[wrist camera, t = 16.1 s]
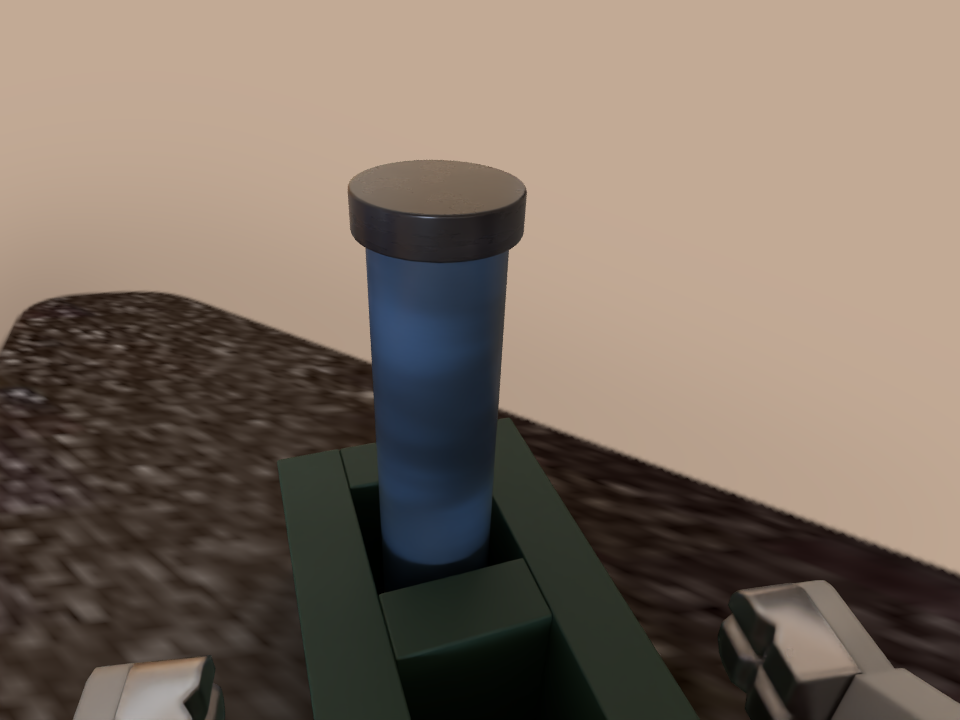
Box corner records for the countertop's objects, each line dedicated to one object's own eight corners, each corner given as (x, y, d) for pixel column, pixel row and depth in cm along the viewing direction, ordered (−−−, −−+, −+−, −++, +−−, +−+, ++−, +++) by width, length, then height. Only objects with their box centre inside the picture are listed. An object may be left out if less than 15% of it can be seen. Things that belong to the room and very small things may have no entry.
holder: (374, 1117, 13) (360, 1039, 10) (293, 565, 24) (276, 459, 22) (721, 947, 15) (782, 848, 13) (502, 517, 27) (510, 416, 24)
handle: (392, 697, 20) (367, 223, 12) (367, 597, 23) (334, 164, 15) (509, 662, 21) (556, 207, 13) (471, 571, 24) (490, 155, 16)
